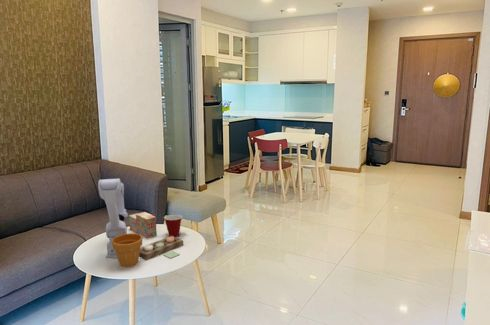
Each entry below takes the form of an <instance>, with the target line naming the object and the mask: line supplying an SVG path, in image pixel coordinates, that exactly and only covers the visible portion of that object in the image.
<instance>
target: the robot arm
mask: <svg viewBox="0 0 490 325" xmlns="http://www.w3.org/2000/svg"><path fill="white" fill-rule="evenodd" d="M124 186H125V185H124V182H122V181H121V178H106V179H99V180H98V183H97V187H98V194H99V196H100V199H102V200H104V202H105V205H106V209H107V214H108V218H109V222H107V223H106V225H105V237H106V238H107V239H108V240H109V242H108V243H107V244H106V251H107V255H106V258H111V259H118V257H117V254H116V251H115V250H114V249H113V246H112V240H113V239H114V238H115V237H117V236H119V235H123V234H128V229H127V225H126V223H125V221H124V220H125V218H129V213H128V212H127V209H126V208H125V200H124V199H125V198H124V197H125V196H124V194H125V193H124V191H125V187H124Z"/></svg>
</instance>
